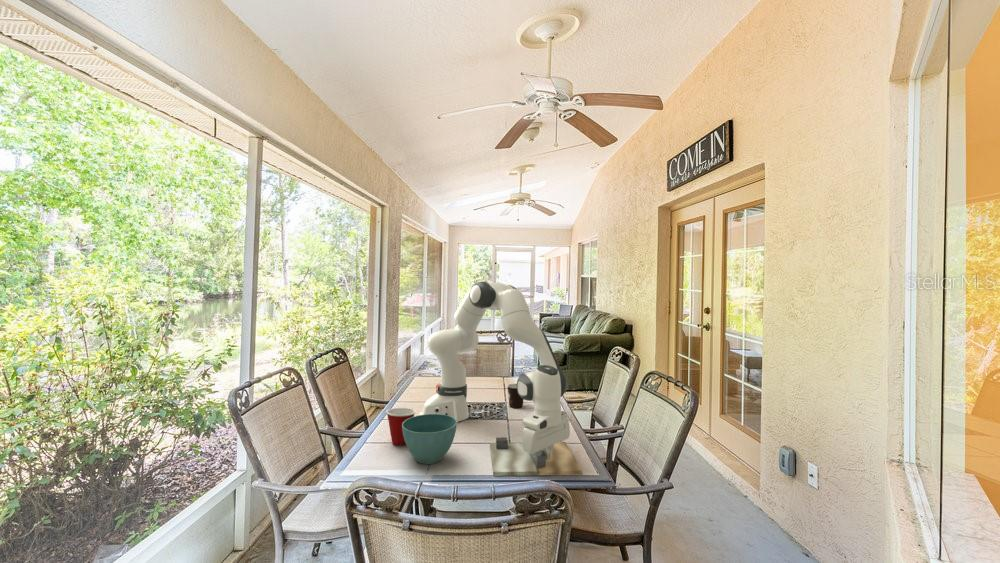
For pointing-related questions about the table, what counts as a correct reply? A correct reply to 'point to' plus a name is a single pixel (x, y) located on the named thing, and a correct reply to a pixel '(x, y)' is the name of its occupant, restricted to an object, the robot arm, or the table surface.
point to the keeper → (501, 443)
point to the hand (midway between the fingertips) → (547, 458)
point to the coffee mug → (514, 397)
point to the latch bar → (539, 458)
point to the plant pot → (429, 436)
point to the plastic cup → (398, 423)
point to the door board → (522, 464)
